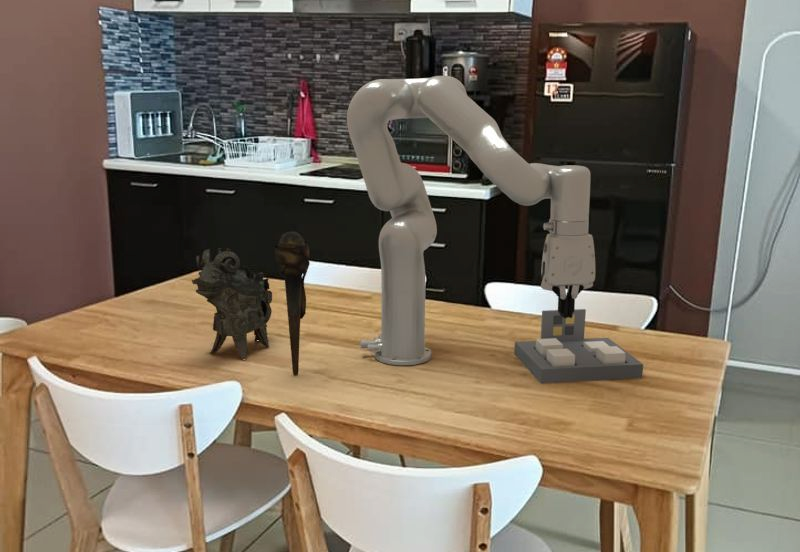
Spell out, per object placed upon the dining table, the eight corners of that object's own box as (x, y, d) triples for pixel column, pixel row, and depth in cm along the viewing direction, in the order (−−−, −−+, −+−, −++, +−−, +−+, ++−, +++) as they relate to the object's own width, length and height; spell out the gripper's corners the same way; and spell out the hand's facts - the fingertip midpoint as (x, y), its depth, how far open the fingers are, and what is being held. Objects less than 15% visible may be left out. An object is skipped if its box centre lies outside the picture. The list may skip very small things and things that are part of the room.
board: (540, 383, 169) (541, 369, 168) (514, 354, 186) (514, 341, 185) (642, 377, 172) (643, 364, 172) (606, 350, 190) (607, 337, 189)
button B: (604, 365, 172) (605, 354, 172) (595, 357, 176) (596, 347, 176) (624, 364, 173) (625, 353, 172) (615, 356, 177) (616, 346, 177)
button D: (590, 359, 179) (591, 348, 179) (583, 352, 183) (583, 341, 183) (610, 358, 180) (611, 347, 179) (602, 351, 184) (603, 341, 184)
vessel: (181, 365, 176) (177, 251, 173) (250, 340, 199) (247, 239, 195) (224, 371, 172) (220, 254, 168) (289, 345, 194) (287, 241, 190)
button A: (553, 367, 170) (554, 356, 170) (546, 360, 175) (546, 349, 174) (574, 366, 171) (575, 355, 170) (566, 359, 175) (567, 348, 175)
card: (541, 341, 186) (543, 311, 184) (540, 340, 186) (542, 310, 185) (584, 339, 187) (586, 309, 186) (582, 338, 188) (584, 308, 186)
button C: (542, 356, 177) (542, 345, 176) (535, 349, 181) (536, 339, 181) (562, 355, 178) (563, 344, 177) (555, 348, 182) (555, 338, 182)
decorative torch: (298, 382, 168) (296, 236, 161) (271, 376, 171) (267, 233, 164) (318, 372, 173) (316, 231, 166) (291, 366, 177) (288, 228, 170)
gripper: (539, 232, 161) (536, 323, 165) (612, 229, 164) (607, 319, 168) (527, 226, 168) (525, 313, 173) (597, 223, 171) (593, 309, 175)
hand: (565, 316), depth 170 cm, fingers closed
